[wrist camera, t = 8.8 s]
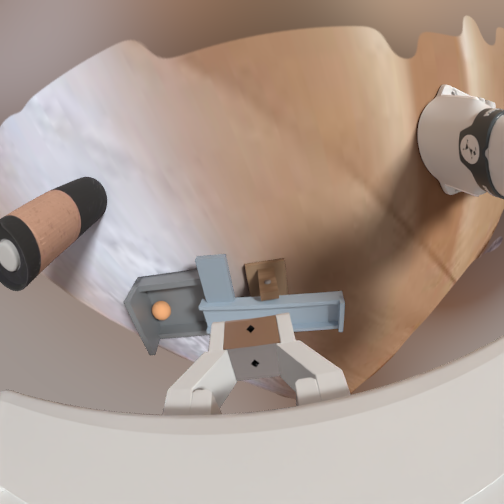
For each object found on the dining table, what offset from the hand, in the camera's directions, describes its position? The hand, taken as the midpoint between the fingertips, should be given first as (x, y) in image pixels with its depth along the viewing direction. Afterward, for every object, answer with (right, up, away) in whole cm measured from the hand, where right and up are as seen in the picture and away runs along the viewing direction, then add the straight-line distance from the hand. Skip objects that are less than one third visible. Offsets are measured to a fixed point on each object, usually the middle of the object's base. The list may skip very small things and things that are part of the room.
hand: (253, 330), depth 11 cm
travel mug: (-25, +11, +26) cm, 38 cm away
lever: (+2, -2, +27) cm, 28 cm away
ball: (-15, -6, +33) cm, 36 cm away
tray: (-12, -5, +34) cm, 37 cm away
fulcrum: (+3, -3, +34) cm, 34 cm away
